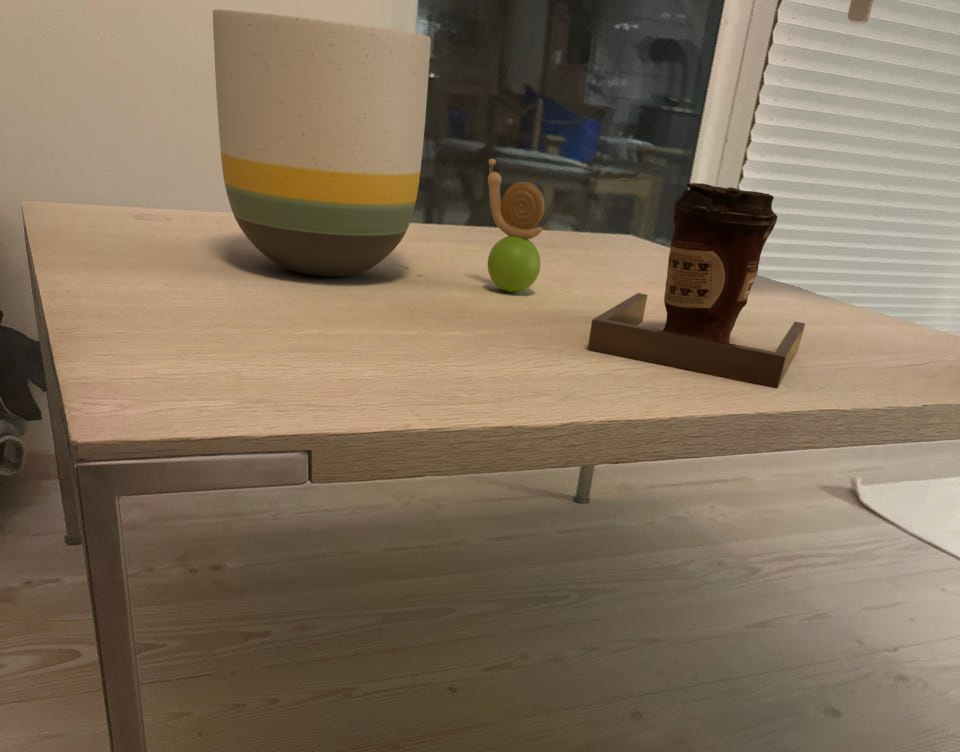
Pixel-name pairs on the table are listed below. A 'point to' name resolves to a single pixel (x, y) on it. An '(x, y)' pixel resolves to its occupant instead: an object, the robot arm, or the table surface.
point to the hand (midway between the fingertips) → (856, 22)
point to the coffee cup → (714, 258)
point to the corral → (689, 347)
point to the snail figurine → (515, 233)
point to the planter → (320, 136)
